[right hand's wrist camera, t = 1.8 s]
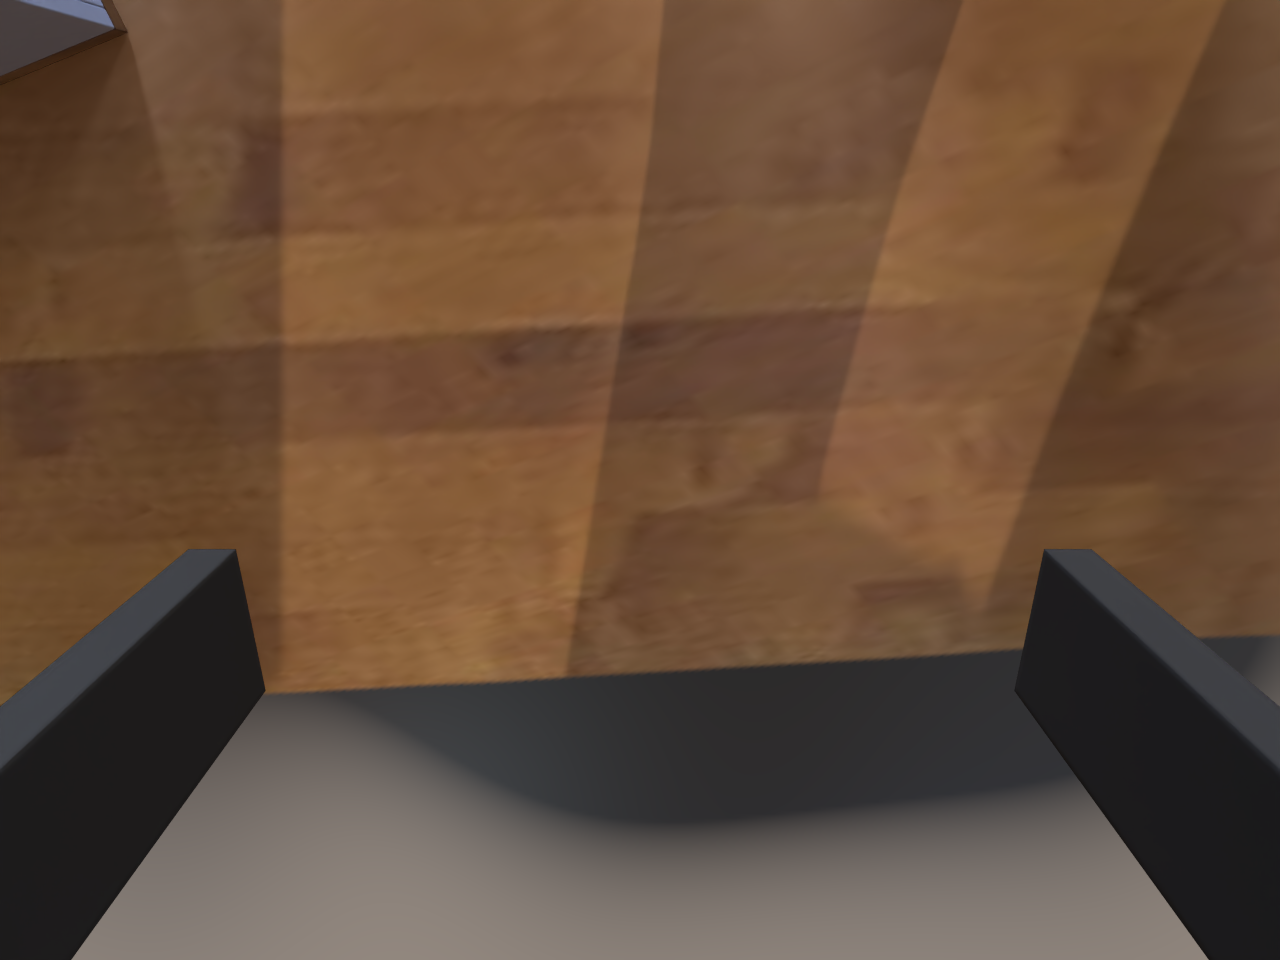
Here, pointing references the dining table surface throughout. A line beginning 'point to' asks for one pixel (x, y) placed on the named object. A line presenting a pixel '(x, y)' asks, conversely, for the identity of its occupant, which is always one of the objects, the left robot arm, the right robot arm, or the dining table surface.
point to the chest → (51, 32)
